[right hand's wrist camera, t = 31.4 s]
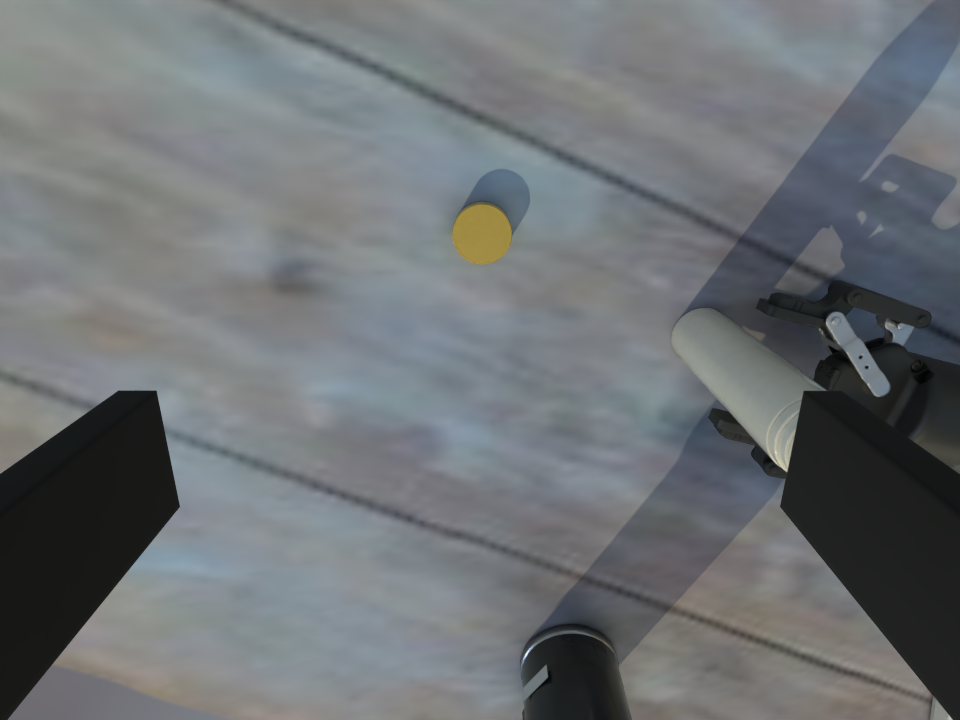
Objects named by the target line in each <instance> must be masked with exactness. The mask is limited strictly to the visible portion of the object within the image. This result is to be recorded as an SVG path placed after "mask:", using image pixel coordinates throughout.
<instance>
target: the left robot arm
mask: <svg viewBox="0 0 960 720" xmlns="http://www.w3.org/2000/svg"><path fill="white" fill-rule="evenodd" d="M853 307H857V308H860V309H863V310H866V311H869V312H872V313H875V314H877V315H876V319H877V323H878V325H879V326H880V327H882V328H883V329H884V331H885V336H884V338H877V339H874V340H871V341H868V342H865V343H863V341H862V340H861V339H860V338H859V337H858V336H857V335H856V334H855V333H854V331H853V329H852V328H851V326H850V324H849V323H848V321H847V319H846V318H845V316H846V315H847V313H848V312H849V311H850V310H851V309H852V308H853ZM756 308H757V309H758V310H760V311H762V312H763V313H765V314H767V315H770V316H773V317H776V318H780V319H784V320H788V321H792V322H796V323H799V324H803V325H807V326H811V327H815V328H816V329H817V330H818V332H819V337H820V339H821V340H822V342H823V344H824V345H825V347H826V348H827V350H828V351H829V353H830V356H828V357H827V358H826V359H825V360H820V362H819V364H818V366H817V368H816V371H815V377H814V381H816V382H817V383H819V384H820V385H821V386H823V387H824V388H826V389H827V390H828V391H843V392H844V393H845V394H847V395H848V396H850V397H851V398H852V399H854V400H855V401H857V402H858V403H860V404H861V405H862V406H864V407H865V408H867V409H868V410H869V411H871V412H872V413H874V414H875V415H877V416H878V417H879V418H881V419H882V420H884V421H885V422H887V423H888V424H889V425H891V426H892V427H894V428H895V429H896V430H898V431H899V432H901V433H902V434H904V435H905V436H906V437H908V438H909V439H911V440H912V441H914V442H915V443H916V444H918V445H919V446H921V447H922V448H923V449H925V450H926V451H928V452H929V453H931V454H932V455H933V456H935V457H936V458H938V459H939V460H940V461H942V462H943V463H945V464H946V465H948V466H949V467H950V468H952V469H953V470H955V471H956V472H958V473H959V474H960V365H956V364H952V363H949V362H945V361H941V360H937V359H933V358H930V357H926V356H922V355H918V354H914V353H910V352H908V351H907V350H906V349H905V348H904V347H903V346H904V345H905V343H906V341H907V340H908V338H909V336H910V335H911V333H912V331H913V329H914V328H915V327H916V328H924V327H926V326H927V325H928V324H929V323H930V321H931V314H930V313H929V312H928V311H926V310H923V309H920V308H918V307H915V306H913V305H910V304H907V303H905V302H902V301H899V300H896V299H893V298H890V297H888V296H885V295H882V294H879V293H876V292H873V291H870V290H867V289H864V288H861V287H858V286H855V285H853V284H850V283H847V282H844V281H841V280H836V281H834V282H832V283H831V284H830V286H829V287H828V294H827V295H826V296H825V297H824V298H823V299H821V300H819V301H816V302H812V301H808V300H804V299H801V298H797V297H793V296H789V295H786V294H782V293H774V294H771V296H770V298H769V300H766V299H762V298H760V299H759V302H758V304H757V306H756ZM709 419H710V420H711V421H712V423H713V424H714V427H715V428H716V429H717V430H718V432H719V433H720V434H721V435H722V436H724V437H725V438H727V439H731V440H735V441H740V442H743V443H748V444H752V445H755V448H754V449H753V450H752V452H751V456H752V457H753V459H754V460H755V461H756V462H757V463H758V464H759V465H760V466H761V467H762V468H763V470H764V472H765V473H766V474H767V475H769V476H772V477H778V478H784V479H786V476H787V472H786V471H784V470H783V469H782V468H781V467H779V466H778V465H777V464H776V463H775V462H774V461H773V460H772V459H771V458H770V457H769V456H768V455H767V454H766V453H765V451H764V450H763V449H762V448H761V447H760V446H759V445H758V444H757V443H756V441H755V440H754V439H753V438H752V437H751V436H750V435H749V434H748V433H747V432H746V430H745V429H744V428H743V427H742V426H741V425H740V424H739V423H738V422H737V421H736V419H735V418H734V417H733V416H732V415H731V414H730V413H729V412H728V411H724V410H720V409H715V408H712V410H711V412H710V415H709ZM520 669H521V678H522V683H523V700H524V710H523V712H522V714H523V720H632V718H631V714H630V710H629V706H628V702H627V698H626V695H625V691H624V686H623V682H622V679H621V675H620V671H619V663H618V659H617V655H616V652H615V649H614V647H613V645H612V644H611V642H610V641H609V640H608V639H607V638H606V637H605V636H604V635H602V634H601V633H599V632H598V631H596V630H593V629H591V628H588V627H584V626H578V625H563V626H558V627H554V628H550V629H548V630H545V631H543V632H541V633H540V634H538V635H537V636H535V637H534V638H533V639H532V640H531V641H530V642H529V643H528V644H527V645H526V647H525V648H524V650H523V653H522V655H521V660H520Z"/></svg>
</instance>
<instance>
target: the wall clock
mask: <svg viewBox="0 0 960 720" xmlns="http://www.w3.org/2000/svg"><path fill="white" fill-rule="evenodd" d="M930 720H953V719H952V718H951V717H950V716H949V715H948V713H947V712H946V711H945V710H944V708H943V707H942V706H941V705H940V703H939V702H938V701H937V700H936V698H935V697H934V696H933V701H932V708H931V715H930Z"/></svg>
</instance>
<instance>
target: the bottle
mask: <svg viewBox="0 0 960 720" xmlns="http://www.w3.org/2000/svg"><path fill="white" fill-rule="evenodd" d="M672 346H673V349H674V351H675V353H676V354H677V355H678V357H679V358H680V359H681V360H682V361H683V362H684V363H685V364H686V365H687V366H688V368H689V369H690V370H691V371H692V372H693V373H694V374H695V375H696V376H697V378H698V379H699V380H700V381H701V382H702V383H703V384H704V385H705V386H706V387H707V389H708V390H709V391H710V392H711V393H712V394H713V395H714V396H715V397H716V398H717V400H718V401H719V402H720V403H721V404H722V405H723V406H724V407H725V408H726V409H727V411H728V412H729V413H730V414H731V415H732V416H733V417H734V418H735V419H736V421H737V422H738V423H739V424H740V425H741V426H742V427H743V428H744V429H745V430H746V432H747V433H748V434H749V435H750V436H751V437H752V438H753V439H754V440H755V441H756V443H757V444H758V445H759V446H760V447H761V448H762V449H763V450H764V451H765V453H766V454H767V455H768V456H769V457H770V458H771V459H772V460H773V461H774V462H775V463H776V464H777V465H778V466H779V467H781V468H782V469H783V470H784V471H786V472H787V471H788V466H789V461H790V456H791V451H792V446H793V441H794V436H795V431H796V426H797V421H798V416H799V411H800V406H801V401H802V396H803V391H828V390H827V389H826V388H824V387H823V386H821V385H820V384H819V383H817V382H816V381H814V380H813V379H812V378H810V377H809V376H808V375H806V374H805V373H803V372H802V371H801V370H799V369H798V368H797V367H795V366H794V365H792V364H791V363H790V362H788V361H787V360H785V359H784V358H783V357H781V356H780V355H779V354H777V353H776V352H774V351H773V350H772V349H770V348H769V347H768V346H766V345H765V344H763V343H762V342H761V341H759V340H758V339H756V338H755V337H754V336H752V335H751V334H750V333H748V332H747V331H745V330H744V329H743V328H741V327H740V326H739V325H737V324H736V323H734V322H733V321H732V320H730V319H729V318H727V317H726V316H725V315H723V314H722V313H720V312H719V311H717V310H715V309H711V308H699V309H695V310H692V311H690V312H688V313H686V314H685V315H684V316H682V317H681V318H680V319H679V321H678V322H677V323H676V325H675V327H674V329H673V332H672Z"/></svg>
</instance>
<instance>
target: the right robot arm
mask: <svg viewBox="0 0 960 720" xmlns="http://www.w3.org/2000/svg"><path fill="white" fill-rule="evenodd" d="M179 507H180V505H179V500H178V495H177V490H176V485H175V481H174V476H173V471H172V466H171V461H170V456H169V451H168V446H167V441H166V436H165V431H164V426H163V421H162V416H161V411H160V406H159V401H158V396H157V391H117V392H116V393H115V394H113V395H112V396H110V397H109V398H108V399H106V400H105V401H103V402H102V403H100V404H99V405H98V406H96V407H95V408H93V409H92V410H91V411H89V412H88V413H86V414H85V415H83V416H82V417H81V418H79V419H78V420H76V421H75V422H73V423H72V424H71V425H69V426H68V427H66V428H65V429H64V430H62V431H61V432H59V433H58V434H56V435H55V436H54V437H52V438H51V439H49V440H48V441H46V442H45V443H44V444H42V445H41V446H39V447H38V448H37V449H35V450H34V451H32V452H31V453H29V454H28V455H27V456H25V457H24V458H22V459H21V460H20V461H18V462H17V463H15V464H14V465H12V466H11V467H10V468H8V469H7V470H5V471H4V472H2V473H1V474H0V720H7V719H8V718H9V717H10V716H11V715H12V713H13V712H14V711H15V710H16V708H17V707H18V706H19V705H20V703H21V702H22V701H23V700H24V698H25V697H26V696H27V695H28V694H29V692H30V691H31V690H32V689H33V687H34V686H35V685H36V684H37V682H38V681H39V680H40V679H41V677H42V676H43V675H44V674H45V672H46V671H47V670H48V669H49V668H50V666H51V665H52V664H53V663H54V661H55V660H56V659H57V658H58V657H59V655H60V654H61V653H62V652H63V650H64V649H65V648H66V647H67V645H68V644H69V643H70V642H71V640H72V639H73V638H74V637H75V636H76V634H77V633H78V632H79V631H80V629H81V628H82V627H83V626H84V624H85V623H86V622H87V621H88V619H89V618H90V617H91V616H92V615H93V613H94V612H95V611H96V610H97V608H98V607H99V606H100V605H101V603H102V602H103V601H104V600H105V598H106V597H107V596H108V595H109V594H110V592H111V591H112V590H113V589H114V587H115V586H116V585H117V584H118V582H119V581H120V580H121V579H122V578H123V576H124V575H125V574H126V573H127V571H128V570H129V569H130V568H131V566H132V565H133V564H134V563H135V561H136V560H137V559H138V558H139V557H140V555H141V554H142V553H143V552H144V550H145V549H146V548H147V547H148V545H149V544H150V543H151V542H152V540H153V539H154V538H155V537H156V536H157V534H158V533H159V532H160V531H161V529H162V528H163V527H164V526H165V524H166V523H167V522H168V521H169V519H170V518H171V517H172V516H173V515H174V513H175V512H176V511H177V510H178V508H179ZM780 507H781V508H782V510H783V511H784V512H785V513H786V515H787V516H788V517H789V518H790V519H791V521H792V522H793V523H794V524H795V526H796V527H797V528H798V529H799V531H800V532H801V533H802V534H803V536H804V537H805V538H806V539H807V540H808V542H809V543H810V544H811V545H812V547H813V548H814V549H815V550H816V552H817V553H818V554H819V555H820V557H821V558H822V559H823V560H824V561H825V563H826V564H827V565H828V566H829V568H830V569H831V570H832V571H833V573H834V574H835V575H836V576H837V578H838V579H839V580H840V581H841V582H842V584H843V585H844V586H845V587H846V589H847V590H848V591H849V592H850V594H851V595H852V596H853V597H854V598H855V600H856V601H857V602H858V603H859V605H860V606H861V607H862V608H863V610H864V611H865V612H866V613H867V615H868V616H869V617H870V618H871V619H872V621H873V622H874V623H875V624H876V626H877V627H878V628H879V629H880V631H881V632H882V633H883V634H884V636H885V637H886V638H887V639H888V640H889V642H890V643H891V644H892V645H893V647H894V648H895V649H896V650H897V652H898V653H899V654H900V655H901V657H902V658H903V659H904V660H905V661H906V663H907V664H908V665H909V666H910V668H911V669H912V670H913V671H914V673H915V674H916V675H917V676H918V677H919V679H920V680H921V681H922V682H923V684H924V685H925V686H926V687H927V689H928V690H929V691H930V692H931V694H932V695H933V696H934V697H935V698H936V700H937V701H938V702H939V703H940V705H941V706H942V707H943V708H944V710H945V711H946V712H947V713H948V715H949V716H950V717H951V718H952V719H953V720H960V474H959V473H958V472H956V471H955V470H953V469H952V468H950V467H949V466H948V465H946V464H945V463H943V462H942V461H940V460H939V459H938V458H936V457H935V456H933V455H932V454H931V453H929V452H928V451H926V450H925V449H923V448H922V447H921V446H919V445H918V444H916V443H915V442H914V441H912V440H911V439H909V438H908V437H906V436H905V435H904V434H902V433H901V432H899V431H898V430H896V429H895V428H894V427H892V426H891V425H889V424H888V423H887V422H885V421H884V420H882V419H881V418H879V417H878V416H877V415H875V414H874V413H872V412H871V411H869V410H868V409H867V408H865V407H864V406H862V405H861V404H860V403H858V402H857V401H855V400H854V399H852V398H851V397H850V396H848V395H847V394H845V393H844V392H843V391H803V396H802V401H801V406H800V411H799V416H798V421H797V426H796V431H795V436H794V441H793V446H792V451H791V456H790V461H789V466H788V471H787V476H786V481H785V485H784V490H783V495H782V500H781V505H780Z"/></svg>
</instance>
